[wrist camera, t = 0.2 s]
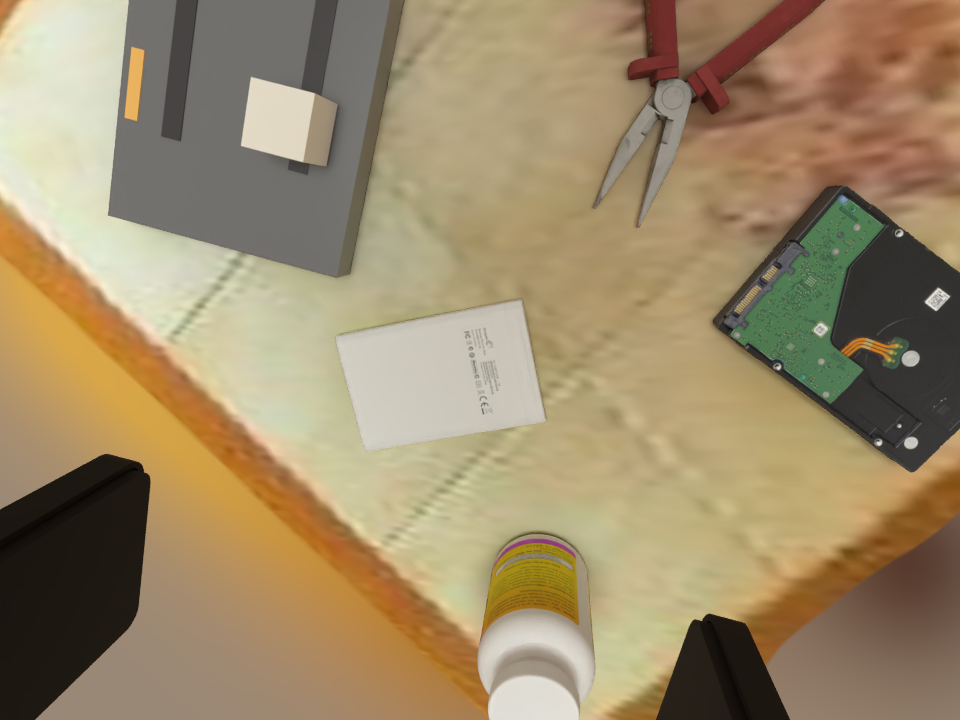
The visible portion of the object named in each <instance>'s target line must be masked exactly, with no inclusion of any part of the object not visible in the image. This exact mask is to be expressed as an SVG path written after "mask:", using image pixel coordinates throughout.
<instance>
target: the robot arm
mask: <svg viewBox="0 0 960 720" xmlns="http://www.w3.org/2000/svg"><path fill="white" fill-rule="evenodd" d="M149 492H150V476H149V475H148V474H147V473H144V469H143V466H142V465H141V464H140V463H139V462H136V461H133V460H129V459H125V458H121V457H118V456H114V455H109V454H104V455H101V456H99V457H97V458H96V459H93V460H92V461H90V462H88V463H86V464H84V465H82V466H80V467H79V468H77V469H75V470H73V471H71V472H69V473H67V474H66V475H64V476H62V477H60V478H58V479H56V480H54V481H53V482H51V483H49V484H47V485H45V486H43V487H41V488H40V489H38V490H36V491H34V492H32V493H30V494H28V495H26V496H25V497H23V498H21V499H19V500H17V501H15V502H13V503H12V504H10V505H8V506H6V507H4V508H2V509H1V510H0V720H35V719H36V718H37V717H38V716H39V715H40V714H41V713H42V712H43V711H44V710H45V709H47V708H48V707H49V705H50V704H52V703H53V702H54V701H55V700H56V699H57V698H58V697H59V696H60V695H61V694H62V693H63V692H64V691H65V690H66V689H67V688H68V687H69V686H70V685H71V684H72V683H73V682H74V681H75V680H76V679H77V678H78V677H79V676H80V675H81V674H82V673H83V672H84V671H85V670H87V669H88V668H89V666H91V665H92V663H94V662H95V661H96V660H97V659H98V658H99V657H100V656H101V655H102V654H103V653H104V652H105V651H106V650H107V649H108V648H109V647H110V646H111V645H112V644H113V643H114V642H115V641H116V640H117V639H118V638H119V637H120V636H121V635H122V634H123V633H124V632H125V631H126V630H127V629H128V628H129V627H130V625H131V624H132V622H133V620H134V618H135V616H136V613H137V611H138V606H139V596H140V586H141V575H142V565H143V555H144V545H145V534H146V523H147V513H148V503H149ZM656 720H790V719H789V716H788V714H787V712H786V710H785V708H784V706H783V703H782V702H781V699H780V697H779V695H778V692H777V690H776V688H775V686H774V684H773V682H772V679H771V677H770V675H769V673H768V671H767V668H766V666H765V664H764V662H763V660H762V657H761V655H760V653H759V651H758V649H757V647H756V644H755V642H754V640H753V638H752V636H751V633H750V631H749V629H748V627H747V626H746V624H745V623H742V622H739V621H735V620H731V619H728V618H724V617H720V616H716V615H713V614H707V615H706V616H705V617H704V618H703V620H702V621H699V620H696V619H695V620H693V621H692V622H691V624H690V626H689V629H688V632H687V634H686V637H685V640H684V643H683V646H682V648H681V651H680V654H679V657H678V660H677V662H676V665H675V668H674V671H673V674H672V676H671V679H670V682H669V685H668V688H667V690H666V693H665V696H664V699H663V702H662V705H661V707H660V710H659V713H658V716H657V719H656Z"/></svg>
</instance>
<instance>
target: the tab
mask: <svg viewBox="0 0 960 720" xmlns="http://www.w3.org/2000/svg"><path fill="white" fill-rule="evenodd" d="M337 106H338V104H336V103H334V102H332V101H330V100H328V99H326V98H324V97H321V96H319V95H317V94H315V93H312V92H308V91H304V90H300V89H296V88H292V87H288V86H284V85H281V84H277V83H273V82H269V81H265V80H261V79H257V78H253V77H251V80H250V87H249V93H248V100H247V107H246V114H245V121H244V127H243V134H242V141H241V146H243V147H247V148H251V149H255V150H258V151H262V152H266V153H270V154H274V155H277V156H281V157H285V158H289V159H292V160H296V161H300V162H304V163H309V164H315V165H320V166H325V167H326V166H327V161H328V155H329V150H330V144H331V139H332V133H333V128H334V122H335V117H336V111H337Z"/></svg>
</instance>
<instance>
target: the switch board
mask: <svg viewBox="0 0 960 720" xmlns="http://www.w3.org/2000/svg"><path fill="white" fill-rule="evenodd" d="M403 3H404V0H129V6H128V16H127V26H126V36H125V47H124V57H123V67H122V77H121V88H120V98H119V108H118V119H117V129H116V139H115V149H114V160H113V170H112V180H111V190H110V201H109V211H108V215H109V216H112V217H116V218H120V219H123V220H127V221H131V222H134V223H138V224H141V225H145V226H149V227H152V228H156V229H160V230H163V231H167V232H171V233H174V234H178V235H182V236H185V237H189V238H193V239H196V240H200V241H204V242H207V243H211V244H215V245H218V246H222V247H226V248H229V249H233V250H237V251H240V252H244V253H247V254H251V255H255V256H258V257H262V258H266V259H269V260H273V261H277V262H280V263H284V264H288V265H291V266H295V267H299V268H302V269H306V270H310V271H313V272H317V273H321V274H324V275H328V276H332V277H335V278H338V277H341V276H344V275H347V274H350V269H351V264H352V259H353V254H354V249H355V244H356V239H357V234H358V229H359V224H360V219H361V214H362V209H363V204H364V199H365V194H366V189H367V184H368V179H369V174H370V169H371V164H372V159H373V153H374V148H375V143H376V138H377V133H378V128H379V123H380V118H381V113H382V108H383V103H384V98H385V93H386V88H387V83H388V78H389V73H390V68H391V63H392V58H393V53H394V48H395V43H396V38H397V33H398V28H399V23H400V18H401V13H402V8H403ZM251 77H253V78H257V79H261V80H265V81H269V82H273V83H277V84H281V85H284V86H288V87H292V88H296V89H300V90H304V91H308V92H312V93H315V94H317V95H319V96H321V97H324V98H326V99H328V100H330V101H332V102H334V103H336V104H338V106H337V111H336V117H335V122H334V128H333V133H332V139H331V144H330V150H329V155H328V161H327V166H326V167H325V166H320V165H315V164H309V163H304V162H300V161H296V160H292V159H289V158H285V157H281V156H277V155H274V154H270V153H266V152H262V151H258V150H255V149H251V148H247V147H243V146H241V141H242V134H243V127H244V121H245V114H246V107H247V100H248V93H249V87H250V80H251Z"/></svg>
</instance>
